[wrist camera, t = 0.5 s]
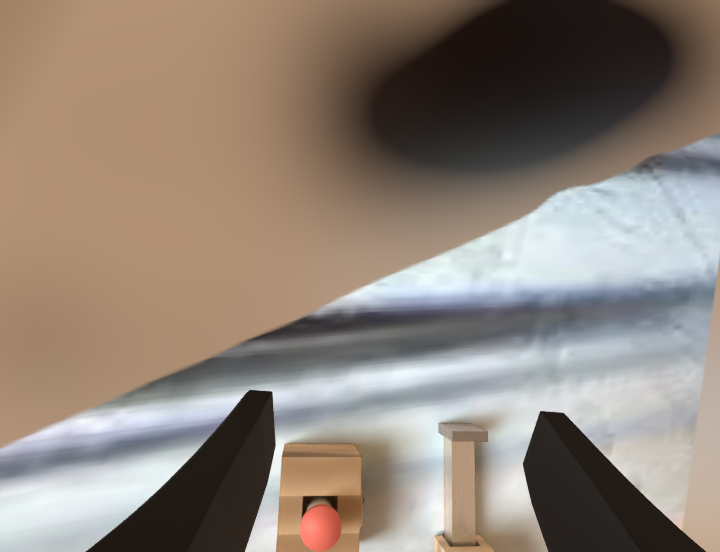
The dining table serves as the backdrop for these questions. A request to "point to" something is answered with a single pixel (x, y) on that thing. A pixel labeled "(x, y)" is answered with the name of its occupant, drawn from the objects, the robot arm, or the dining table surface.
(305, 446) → the wooden box with dial
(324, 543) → the plunger
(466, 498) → the rail
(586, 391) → the dining table surface
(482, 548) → the block
